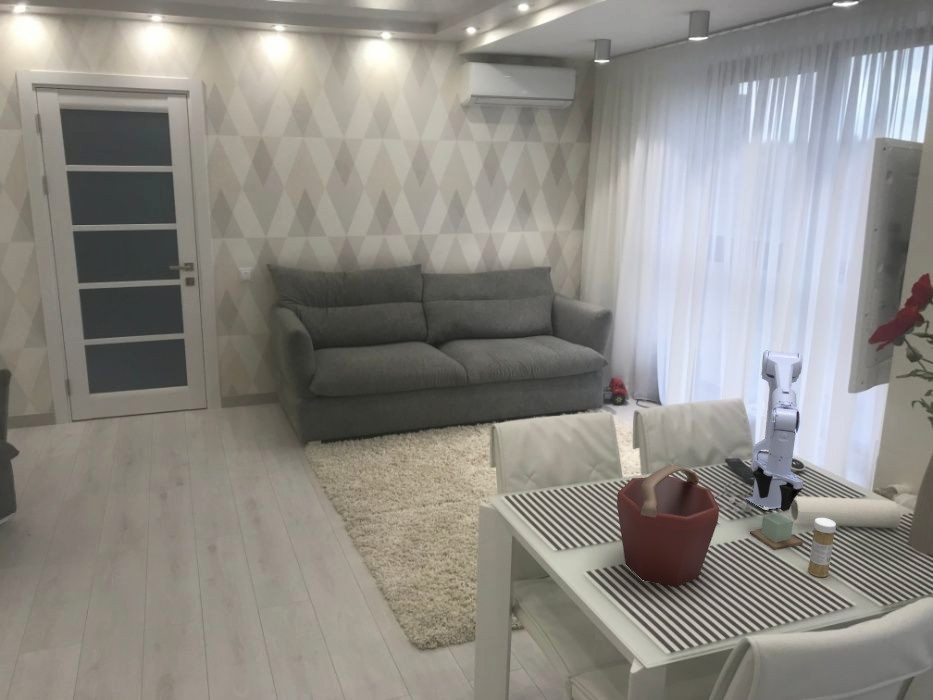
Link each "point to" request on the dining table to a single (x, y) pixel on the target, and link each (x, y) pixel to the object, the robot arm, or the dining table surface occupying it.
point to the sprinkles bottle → (821, 547)
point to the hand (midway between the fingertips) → (774, 503)
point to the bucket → (666, 526)
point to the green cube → (776, 527)
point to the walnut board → (777, 545)
